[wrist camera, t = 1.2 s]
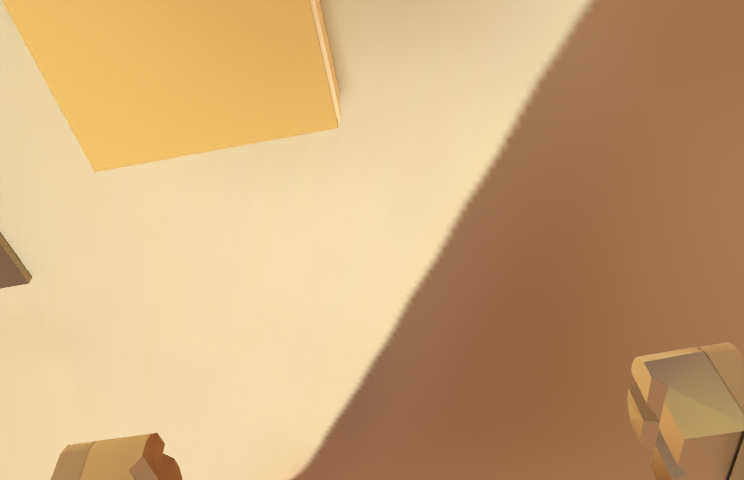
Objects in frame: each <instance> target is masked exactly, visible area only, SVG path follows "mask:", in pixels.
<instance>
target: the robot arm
mask: <svg viewBox="0 0 744 480" xmlns="http://www.w3.org/2000/svg"><path fill="white" fill-rule="evenodd" d="M631 372H632V374H633V376H634V378H635V380H636V382H635V383H634V384H633V385H632V386H631V387H630V388H629V390H628V408H629V415H630V419H631V422H632V425H633V429H634V431H635V433H636V435H637V438H638V440H639V442H640V444H642V445H643V446H645V447H646V448H647V449H649V450H650V451H652V452H653V458H652V464H651V469H652V471H653V473H654V475H655V477H656V479H657V480H744V358H743V356H742V355H741V353H740V352H739V350H738V349H737V348H736V347H735V346H734V345H732V344H731V343H721V344H716V345H709V346H704V347H698V348H695V347H692V348H686V349H680V350H674V351H669V352H662V353H657V354H651V355H645V356H639V357H636V358H635V359H634V361H633V363H632V369H631ZM164 445H165V443H164V442H163V440H162V439H161V438H160V436H159V435H158V433H153V434H145V435H138V436H130V437H123V438H115V439H108V440H100V441H92V442H86V443H79V444H73V445H68V446H67V447H66V448H65V449H64V450H63V452H62V453H61V454H60V456H59V459H58V461H57V464H56V467H55V470H54V472H53V475H52V478H51V480H182V476H181V472H180V469H179V466H178V464H177V463H176V461H175V459H174V458H172V457H170V456H168V455H165V454H163V450H164Z"/></svg>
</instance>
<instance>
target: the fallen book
mask: <svg viewBox="0 0 744 480" xmlns="http://www.w3.org/2000/svg"><path fill="white" fill-rule="evenodd" d="M2 1H3V3H4V5H5V7H6V9H7V11H8V12H9V14H10V16H11V18H12V20H13V22H14V24H15V25H16V27H17V29H18V31H19V33H20V35H21V37H22V38H23V40H24V42H25V44H26V46H27V48H28V49H29V51H30V53H31V55H32V57H33V59H34V61H35V62H36V64H37V66H38V68H39V70H40V72H41V73H42V75H43V77H44V79H45V81H46V83H47V85H48V86H49V88H50V90H51V92H52V94H53V96H54V98H55V99H56V101H57V103H58V105H59V107H60V109H61V110H62V112H63V114H64V116H65V118H66V120H67V122H68V123H69V125H70V127H71V129H72V131H73V133H74V134H75V136H76V138H77V140H78V142H79V144H80V146H81V147H82V149H83V151H84V153H85V155H86V157H87V159H88V160H89V162H90V164H91V166H92V168H93V170H94V171H95V172H98V171H103V170H109V169H114V168H120V167H125V166H131V165H136V164H142V163H147V162H153V161H158V160H164V159H169V158H175V157H180V156H186V155H191V154H197V153H202V152H208V151H213V150H219V149H224V148H230V147H235V146H241V145H246V144H252V143H257V142H263V141H268V140H274V139H279V138H285V137H290V136H296V135H301V134H307V133H312V132H318V131H323V130H329V129H334V128H338V120H341V109H340V96H339V88H338V84H337V79H336V74H335V70H334V65H333V60H332V56H331V51H330V47H329V42H328V37H327V33H326V28H325V23H324V19H323V14H322V10H321V5H320V0H2Z"/></svg>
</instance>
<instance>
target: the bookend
mask: <svg viewBox="0 0 744 480" xmlns="http://www.w3.org/2000/svg"><path fill="white" fill-rule="evenodd" d="M31 278H32V277H31V276H30V274H29V273H28V271H27V270H26V269H25V267H24V266H23V264H22V263H21V262H20V260H19V259H18V257H17V256H16V255H15V253H14V252H13V250H12V249H11V247H10V246H9V245H8V243H7V242H6V240H5V239H4V238H3V236H2V235H1V233H0V288H5V287H11V286H17V285H22V284H28V283H29V282H30V280H31Z"/></svg>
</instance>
